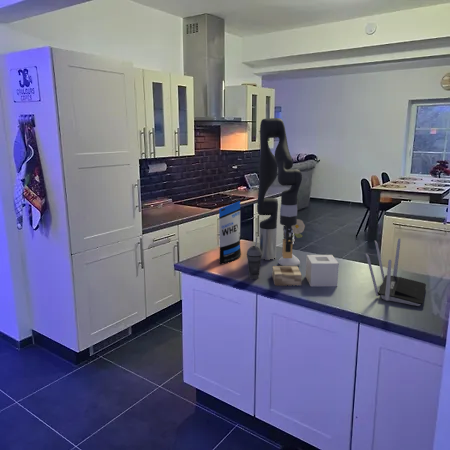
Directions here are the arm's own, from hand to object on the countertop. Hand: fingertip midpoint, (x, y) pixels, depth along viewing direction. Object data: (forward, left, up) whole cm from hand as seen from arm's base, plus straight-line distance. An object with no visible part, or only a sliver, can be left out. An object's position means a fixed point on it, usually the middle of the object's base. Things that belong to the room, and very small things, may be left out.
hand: (287, 250), depth 181 cm
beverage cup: (-4, -15, -15) cm, 22 cm away
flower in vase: (-21, +5, -15) cm, 26 cm away
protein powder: (-33, -26, -15) cm, 45 cm away
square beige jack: (0, 0, -15) cm, 15 cm away
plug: (0, 0, -3) cm, 3 cm away
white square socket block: (+1, +16, -15) cm, 22 cm away
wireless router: (+13, +45, -15) cm, 49 cm away
